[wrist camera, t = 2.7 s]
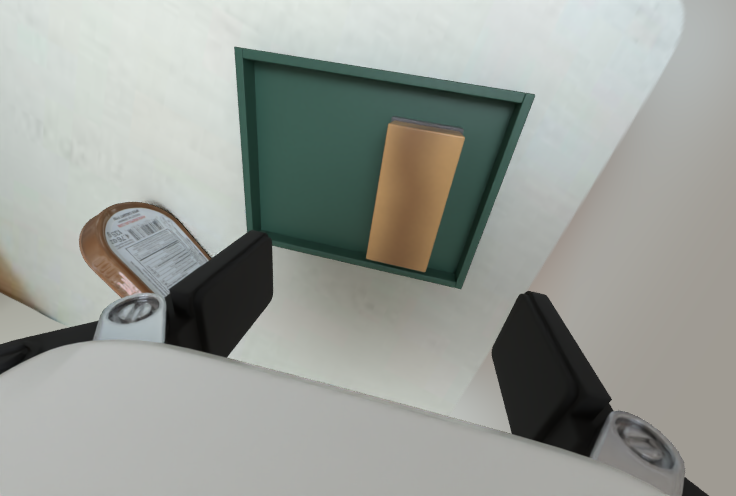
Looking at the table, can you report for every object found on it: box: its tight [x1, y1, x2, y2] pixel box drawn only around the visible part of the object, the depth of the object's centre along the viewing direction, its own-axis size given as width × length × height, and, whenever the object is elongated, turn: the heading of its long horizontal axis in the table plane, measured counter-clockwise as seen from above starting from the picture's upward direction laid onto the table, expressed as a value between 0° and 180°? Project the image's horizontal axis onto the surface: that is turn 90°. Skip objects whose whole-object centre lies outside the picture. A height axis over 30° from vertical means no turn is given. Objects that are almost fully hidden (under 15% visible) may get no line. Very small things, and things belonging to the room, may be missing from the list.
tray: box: [234, 47, 535, 289], centre depth 23 cm, size 20×15×2 cm
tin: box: [79, 202, 211, 298], centre depth 28 cm, size 15×3×8 cm, turn 32°
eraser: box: [366, 116, 465, 272], centre depth 21 cm, size 5×10×5 cm, turn 172°
